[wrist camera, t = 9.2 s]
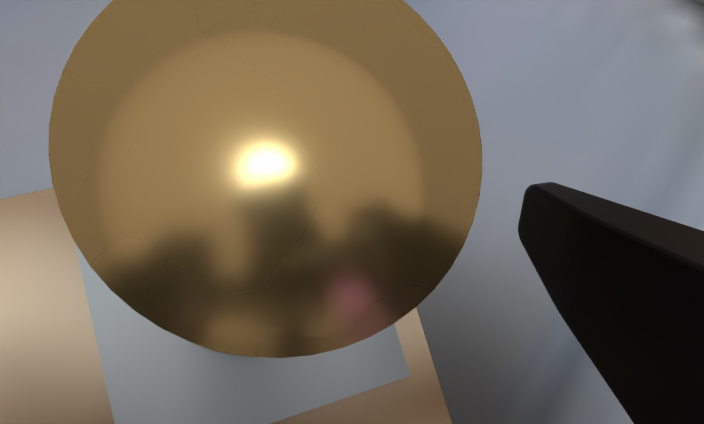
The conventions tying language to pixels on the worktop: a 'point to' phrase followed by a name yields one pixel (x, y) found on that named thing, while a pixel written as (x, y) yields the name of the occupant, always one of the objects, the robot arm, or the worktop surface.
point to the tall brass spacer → (266, 166)
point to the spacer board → (82, 350)
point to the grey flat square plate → (222, 371)
